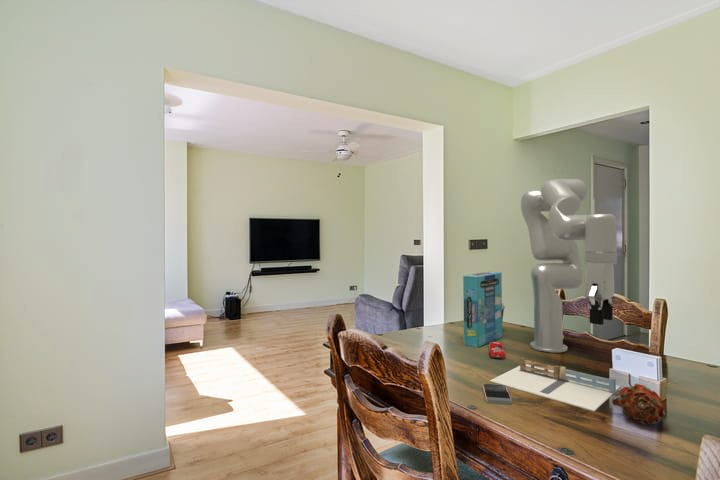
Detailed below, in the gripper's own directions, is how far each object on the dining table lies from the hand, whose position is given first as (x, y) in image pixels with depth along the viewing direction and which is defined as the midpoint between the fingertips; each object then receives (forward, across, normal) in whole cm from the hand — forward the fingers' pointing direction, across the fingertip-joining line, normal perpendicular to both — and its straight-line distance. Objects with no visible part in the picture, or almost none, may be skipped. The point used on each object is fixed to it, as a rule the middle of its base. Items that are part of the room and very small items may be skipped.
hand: (601, 321), depth 108 cm
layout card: (+18, +9, -10) cm, 22 cm away
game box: (+18, -18, -47) cm, 53 cm away
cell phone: (+19, +28, -17) cm, 37 cm away
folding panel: (+17, +5, -2) cm, 18 cm away
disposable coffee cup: (+18, -37, -53) cm, 67 cm away
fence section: (+18, +5, -15) cm, 24 cm away
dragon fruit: (+18, +17, +12) cm, 28 cm away
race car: (+18, -6, -35) cm, 40 cm away
